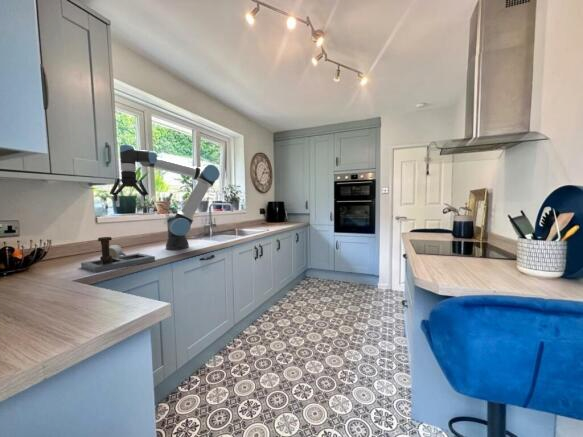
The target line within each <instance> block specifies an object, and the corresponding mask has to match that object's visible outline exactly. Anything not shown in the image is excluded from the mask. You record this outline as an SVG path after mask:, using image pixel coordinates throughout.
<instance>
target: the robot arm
mask: <svg viewBox="0 0 583 437" xmlns="http://www.w3.org/2000/svg"><path fill="white" fill-rule="evenodd" d="M119 158H120V159H119V160H120V170H121V178H115V182H114V184H113V185H112V187H111V189H110V190H109V195H113V201H114V202H115V206H116V208H117V207H118V208H119V207H120V206H121V205H120V195H119V194H120V193H121V192H122V190H124V188H128V187H129V188H134V189H135V190H136V191H137V192H138V193H139V194H140V207H145V201H146V196H148V195H149V193H148V191H147V189H146V187H145V186H144V184H143V180H142V179H138V180H137V172H136V171H137V170H136V169H137V168H136V164H137V163H140V166H142V167H146V168H147V167H150V168H154V169H158V170H161V171H165V172H169V173H173V174H177V175H180V176H185V177H189V178H191V179H192V180H195V181H196V183H195V185H194V187H193V189H192V191H191V192H190V193H189V196H188V198H187V200H186V201H185V203H184V205H183V207H181V210H180V211H178V212H176V214H175V215H170V216H168V217H166V218H167V220H166V225H167V240H166V244H165V249H166V250H171V249H173V250H182V249H188V248H189V247H190V245H189V241H188V239H187V234H188V233H189V232H190V230H191V225H192V224H193V222H194V219H193V218H194V215H195V214H196V212H197V210H198V208H199V206H200V204H201V203H202V201H203V199H204V198H205V196H206V194H207V192H208V190H209V189H210V188H212V187H213V186H214V184H215V182H216V181H217V180H219V178H220V174H221V173H220V170H219V168H218V167H217V166H215V165H214V164H205V165H204V166H203V167H200V166H190V165H186V164H182V163H179V162H175V161H172V160H168V159H165V158H161V157H158V153H157V151H154V150H153V151H152V150H144V149H143V150H141V149H136V148H135V146H134V145H131V144H121V145H120V146H119ZM120 183H121V185H120V186H119V184H120ZM117 188H118V189H117ZM187 247H188V248H187Z"/></svg>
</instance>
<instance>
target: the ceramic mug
mask: <svg viewBox="0 0 583 437" xmlns="http://www.w3.org/2000/svg"><path fill="white" fill-rule="evenodd" d="M109 251H110V252H109V253H110V254H109V255H111V256H112V257H118V256H124V255H127V254H126V253H125V252H123V249H122V247H121V246H120V245H118V244H112V245H109Z"/></svg>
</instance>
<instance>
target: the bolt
mask: <svg viewBox="0 0 583 437" xmlns="http://www.w3.org/2000/svg"><path fill="white" fill-rule="evenodd" d="M97 241H98V242H100V244H101V256H100V257H99V258H100V259H99V260H101V261H103V262H102V263H103V264H108V263H110V260H111V259H112V256H111V255H109V254H110V253H109V252H110V251H109V247H110V241H112V236H103V237H98V238H97Z"/></svg>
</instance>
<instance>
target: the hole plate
mask: <svg viewBox="0 0 583 437" xmlns="http://www.w3.org/2000/svg"><path fill="white" fill-rule="evenodd" d="M155 261H156V257H155V256H154V255H150V254H144V253H140V252H138V253H132V254H126V255H124V256H123V255H121V256H118V257H112V259H111V260H110V263H108V264H103V263H102V262H103V261H101V260H100V259H95V260H89V261H83V262H80V266H81V269H84V270H87V271H89V272H93V273H95V274H97V273H102V272H106V271H110V270H116V269H121V268H125V267H131V266H136V265H141V264H147V263H150V262H151V263H152V262H155Z"/></svg>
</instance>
